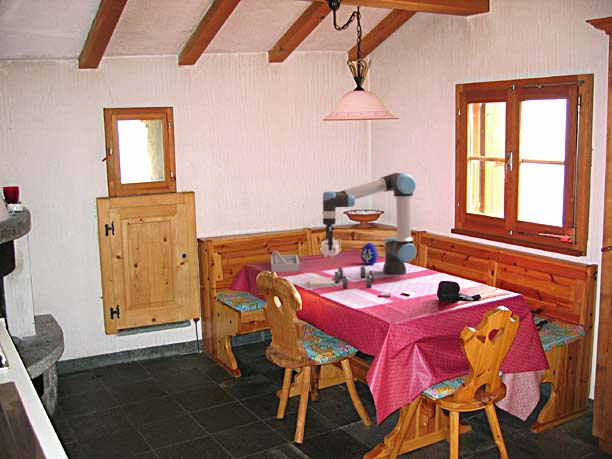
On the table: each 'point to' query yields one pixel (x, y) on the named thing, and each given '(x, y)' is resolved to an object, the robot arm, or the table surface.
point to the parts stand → (321, 282)
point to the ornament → (369, 254)
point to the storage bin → (285, 266)
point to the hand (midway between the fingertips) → (329, 253)
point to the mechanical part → (325, 247)
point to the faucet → (280, 258)
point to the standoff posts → (345, 278)
